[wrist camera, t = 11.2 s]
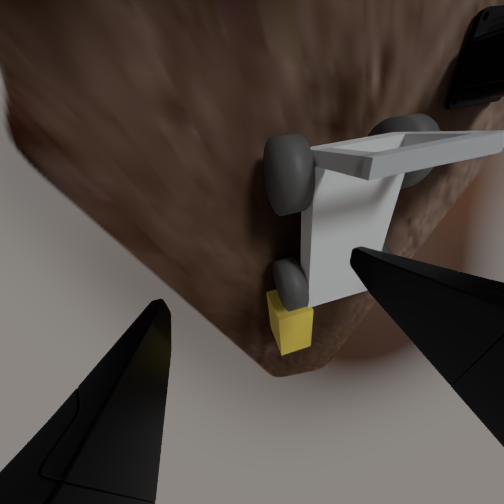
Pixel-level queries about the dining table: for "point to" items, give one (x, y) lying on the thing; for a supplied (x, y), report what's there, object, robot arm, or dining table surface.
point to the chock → (289, 325)
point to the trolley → (353, 196)
